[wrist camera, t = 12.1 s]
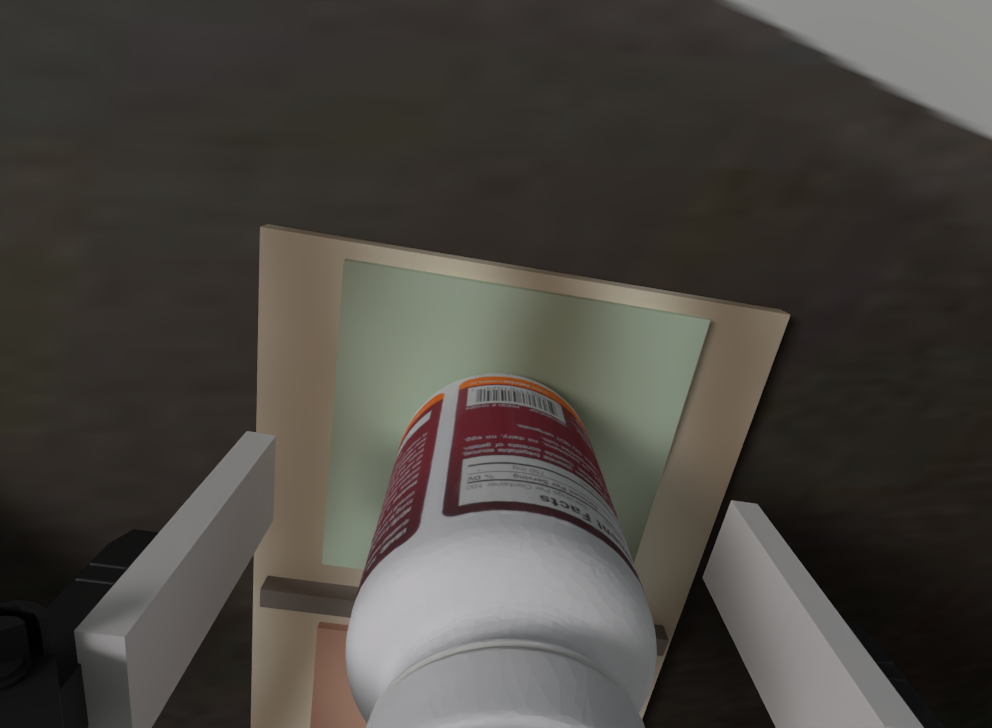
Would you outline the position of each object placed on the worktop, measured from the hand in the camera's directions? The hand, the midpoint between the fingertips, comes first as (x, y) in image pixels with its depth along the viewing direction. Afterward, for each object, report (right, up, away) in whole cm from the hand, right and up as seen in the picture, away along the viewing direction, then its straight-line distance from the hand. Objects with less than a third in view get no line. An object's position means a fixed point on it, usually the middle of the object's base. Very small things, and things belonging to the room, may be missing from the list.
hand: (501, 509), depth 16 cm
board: (-1, -5, +6) cm, 8 cm away
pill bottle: (0, +1, +3) cm, 3 cm away
